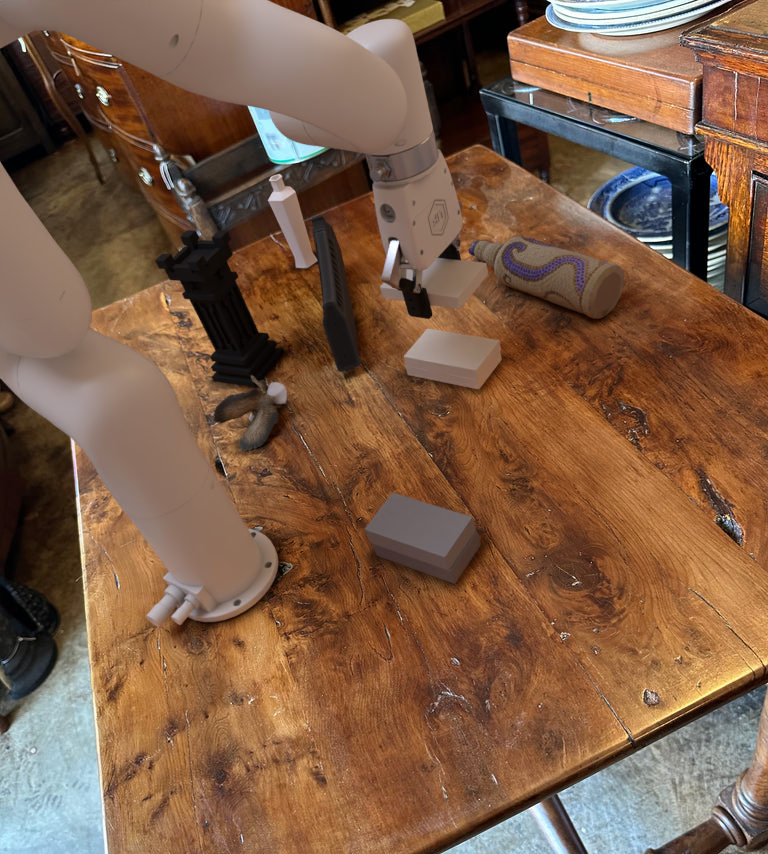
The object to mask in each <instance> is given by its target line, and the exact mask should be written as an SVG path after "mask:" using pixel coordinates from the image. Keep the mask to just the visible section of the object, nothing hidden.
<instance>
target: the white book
mask: <svg viewBox="0 0 768 854" xmlns="http://www.w3.org/2000/svg"><path fill="white" fill-rule="evenodd" d="M406 262H407V260H406ZM488 276H489V270H488V264H486V263H483V262H479V261H472V260H471V261H470V260H462V259H461V260H453V259H443V258H437V259H436V260H435V261H434V262H433V263H432V264H431V265H430V266H429V267H428V268H427V269H425V270H423V271H422V288H426V290H427V295H428V298H429V302H430V305H431V306H436V307H441V308H442V307H443V308H448V309H456V310H461V309H462V307H463V306H464V305H465V304H466V302H467V301H468V300H469V299H470V298H471V297H472V296H473V294H474V293H475V292H476V291H477V289H478V288H479V287H480V286H481V285H482V284H483V282H484V281H485V279H486V278H487V277H488ZM406 279H409V280H412V281H413V270H410V269H407V273H406ZM379 289H380V293H381V295H382V298H383V299H388V300H394V301H401V302H405V300H404V297H403V293H402V291H398V290H397V289H395V288H392V287H391V286H390V285H388V284H386V283H384V282H383V283H382V284H381V285H380V286H379Z"/></svg>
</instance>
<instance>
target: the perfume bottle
mask: <svg viewBox="0 0 768 854" xmlns="http://www.w3.org/2000/svg"><path fill="white" fill-rule="evenodd" d="M268 181H269V182H270V185H271V187H272V190H273V191H272V192H271V194H270V196H269V197H268V199H267V201H268V203H269V206H270V208H271V210H272V212H273V215H274V216H275V219H276V221H277V223H278V225H279V228H280V229H281V232H282V234H283V236H284V238H285V240H286V242H287V244H288V247H289V248H290V249H289V250H290V251H291V253H292V255H293V257H294V262H295V269H309V268H310V267H312V266H313V265H315V264H316V263H318V261H317V256H316V255H315V254H314V252H313V248H312V246H311V241H310V238H309V234H308V231H307V227H306V224H305V220H304V217H303V213H302V209H301V207H300V202H299V200H298V195H297V193H296V191H295V190H294V188H293V187H291V186H287V185H285V182H284V180H283V175H282V174H280V173H278V174H274V175H271V176H270V178H269V179H268Z"/></svg>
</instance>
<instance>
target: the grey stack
mask: <svg viewBox="0 0 768 854" xmlns="http://www.w3.org/2000/svg"><path fill="white" fill-rule="evenodd" d="M476 529H477V528H476V525H475V523H474V518H473V516H471V515H468V514H464V513H461V512H457V511H454V510H451V509H448V508H445V507H442V506H439V505H435V504H431V503H428V502H426V501H423V500H422V501H421V500H419V499H415V498H411V497H409V496H405V495H402V494H398V493H396V492H391V493H390V494H389V496H388V497H387V499H385V502H384V503H383V504H382V505H381V507H380V508H379V509H378V511H377V512H376V513H375V515H374V516H373V517H372V519H371V520H370V521H369V522H368V524H367V525H366V526H365V528H364V529H363V531H364V532H365V535H366V538H367V539H368V542H369V543H370V544H371V546H372V547H373V548H372V549H373V550H374V553H375V555H376V556H377V557H379V558H383V559H385V560H387V561H390V562H393V563H396V564H398V565H401V566H404V567H406V568H409V569H412V570H415V571H418V572H421V573H422V574H426V575H428V576H431V577H435V578H437V579H440V580H443V581H445V582H448V583H451V584H452V585H453V584H454V585H456V584H457V582H458V580H459V579H460V577H461V576H462V574H463V573H464V571H465V570H466V568H467V567H468V565H469V564H470V562H471V561H472V559H473V558H474V556H475V555H476V553H477V552H478V550H479V549H480V547H481V545H482V543H481V538H480V535H479V532H478V531H477V530H476Z"/></svg>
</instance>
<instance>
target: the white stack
mask: <svg viewBox="0 0 768 854" xmlns="http://www.w3.org/2000/svg"><path fill="white" fill-rule="evenodd" d="M501 351H502V347H501V342H500V340H499V339H495V338H488V337H483V336H476V335H470V334H464V333H459V332H458V333H457V332H451V331H446V330H442V329H441V330H439V329H433V328H426V329H425V330H424V332H422V334H421V335H420V336H419V338H418V339H417V340H416V341H415V342H414V343H413V345H412V346H410V348H409V349H408V350H407V352H405V354H404V355H403V359H404V363H405V365H404V367H405V370H406V374H407V376H411V377H416V378H421V379H425V380H430V381H436V382H441V383H445V384H448V385H449V384H450V385H455V386H460V387H464V388H469V389H474V390H480V389H481V388H482V386H483V385H484V384H485V383H486V381H487V380H488V379H489V377H490V376H491V375H492V373H493V372H494V371H495V369H496V368H497V366H499V364H500V363H501V361H502V354H501Z"/></svg>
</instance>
